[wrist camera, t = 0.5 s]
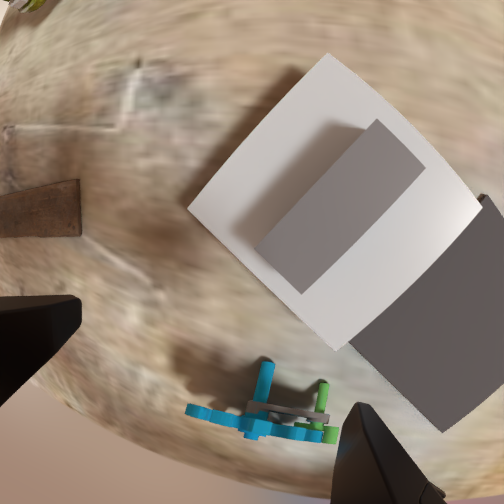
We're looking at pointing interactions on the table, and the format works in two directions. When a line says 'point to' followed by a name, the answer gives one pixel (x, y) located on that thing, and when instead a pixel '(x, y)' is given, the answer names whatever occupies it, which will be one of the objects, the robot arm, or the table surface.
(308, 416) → the gear
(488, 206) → the mat
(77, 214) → the wooden plank
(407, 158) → the lid
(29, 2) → the blowtorch
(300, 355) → the table surface
